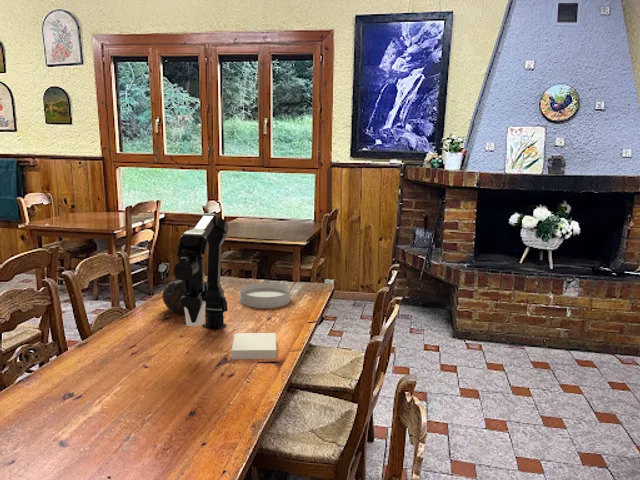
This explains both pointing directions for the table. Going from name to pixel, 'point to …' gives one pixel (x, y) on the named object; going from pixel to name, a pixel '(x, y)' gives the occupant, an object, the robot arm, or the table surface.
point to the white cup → (199, 318)
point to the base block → (254, 346)
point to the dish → (265, 295)
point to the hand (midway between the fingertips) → (195, 318)
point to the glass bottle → (174, 298)
